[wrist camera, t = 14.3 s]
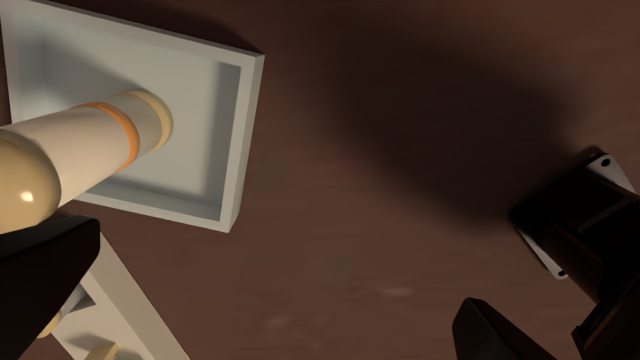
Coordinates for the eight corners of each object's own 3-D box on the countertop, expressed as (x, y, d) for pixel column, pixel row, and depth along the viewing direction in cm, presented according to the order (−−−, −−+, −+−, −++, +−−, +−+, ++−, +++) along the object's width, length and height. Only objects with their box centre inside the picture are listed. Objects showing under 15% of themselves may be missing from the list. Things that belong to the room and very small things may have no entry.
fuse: (107, 271, 24) (59, 319, 20) (89, 294, 25) (40, 345, 21) (71, 249, 23) (15, 293, 19) (54, 273, 24) (-3, 321, 20)
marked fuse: (180, 145, 20) (51, 236, 11) (125, 152, 20) (-47, 246, 11) (163, 85, 19) (-1, 130, 10) (104, 93, 19) (-110, 145, 10)
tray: (264, 54, 19) (255, 57, 16) (239, 212, 23) (228, 232, 20) (40, -2, 18) (-3, -8, 16) (52, 171, 22) (19, 187, 19)
